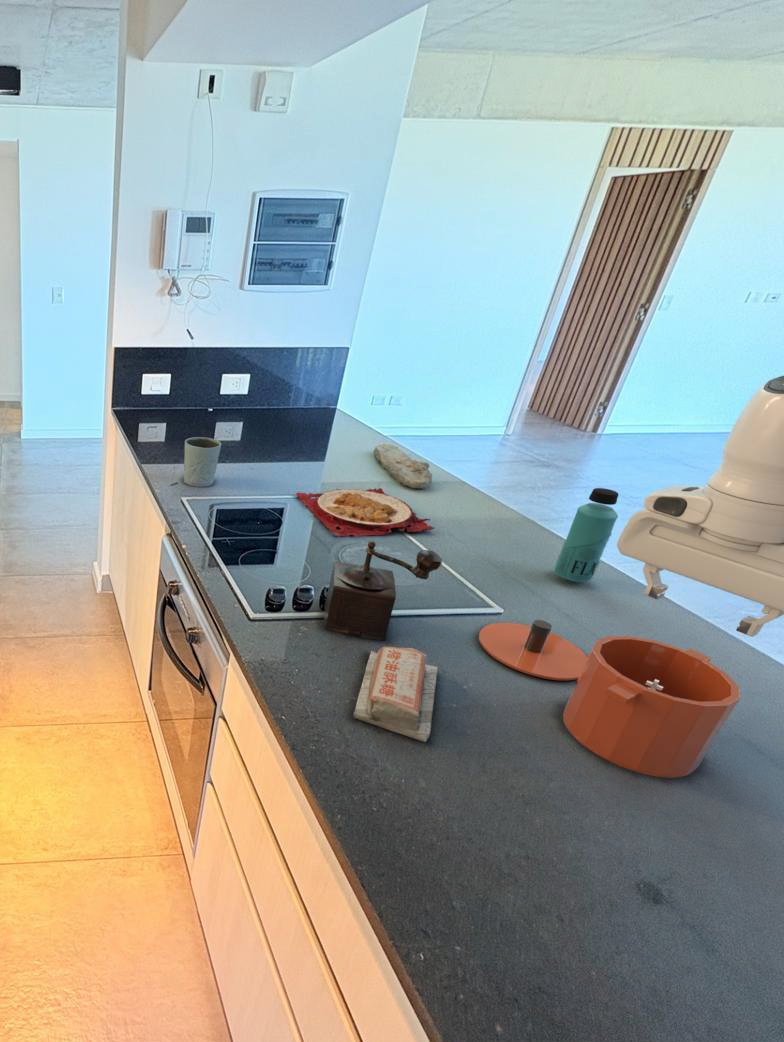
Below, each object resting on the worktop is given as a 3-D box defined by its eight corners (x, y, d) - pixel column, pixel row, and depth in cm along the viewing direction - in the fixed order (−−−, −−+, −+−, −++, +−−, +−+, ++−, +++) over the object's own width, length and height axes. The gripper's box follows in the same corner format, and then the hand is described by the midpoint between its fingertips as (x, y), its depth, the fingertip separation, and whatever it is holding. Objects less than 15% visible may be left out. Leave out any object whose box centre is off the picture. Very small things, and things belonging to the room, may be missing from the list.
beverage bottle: (560, 587, 124) (598, 496, 115) (543, 571, 130) (577, 483, 121) (597, 590, 123) (637, 498, 114) (577, 574, 129) (614, 485, 120)
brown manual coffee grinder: (322, 632, 111) (341, 543, 103) (324, 601, 121) (341, 518, 112) (418, 651, 106) (446, 559, 98) (412, 617, 115) (437, 531, 107)
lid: (609, 667, 101) (624, 637, 99) (550, 694, 96) (564, 663, 93) (514, 619, 114) (524, 591, 112) (457, 640, 109) (467, 611, 106)
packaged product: (436, 719, 84) (358, 694, 89) (427, 745, 87) (352, 720, 91) (443, 650, 98) (375, 632, 103) (435, 674, 100) (369, 655, 105)
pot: (728, 750, 85) (774, 679, 79) (646, 800, 78) (690, 726, 72) (608, 687, 97) (641, 621, 91) (528, 726, 90) (558, 657, 84)
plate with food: (379, 494, 169) (382, 483, 168) (433, 533, 146) (437, 519, 145) (294, 498, 169) (296, 486, 167) (334, 537, 146) (337, 523, 144)
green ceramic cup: (181, 474, 184) (184, 436, 179) (215, 476, 183) (219, 437, 178) (182, 487, 175) (185, 447, 170) (218, 488, 174) (222, 448, 169)
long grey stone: (396, 456, 201) (364, 456, 202) (399, 440, 199) (366, 441, 200) (440, 490, 169) (401, 491, 171) (444, 472, 167) (404, 472, 169)
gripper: (894, 544, 65) (825, 651, 71) (659, 482, 81) (620, 573, 88) (867, 557, 62) (799, 666, 69) (632, 491, 79) (594, 583, 85)
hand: (697, 613), depth 78 cm, fingers open, 8 cm apart
